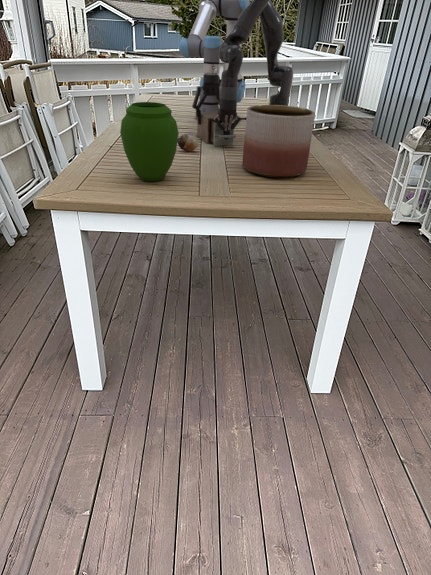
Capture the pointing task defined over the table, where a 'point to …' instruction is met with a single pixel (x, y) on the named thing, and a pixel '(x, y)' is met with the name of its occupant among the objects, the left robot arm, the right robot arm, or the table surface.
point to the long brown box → (205, 125)
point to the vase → (149, 139)
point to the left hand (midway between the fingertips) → (209, 123)
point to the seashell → (188, 142)
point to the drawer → (220, 135)
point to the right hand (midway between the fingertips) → (226, 139)
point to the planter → (277, 140)
